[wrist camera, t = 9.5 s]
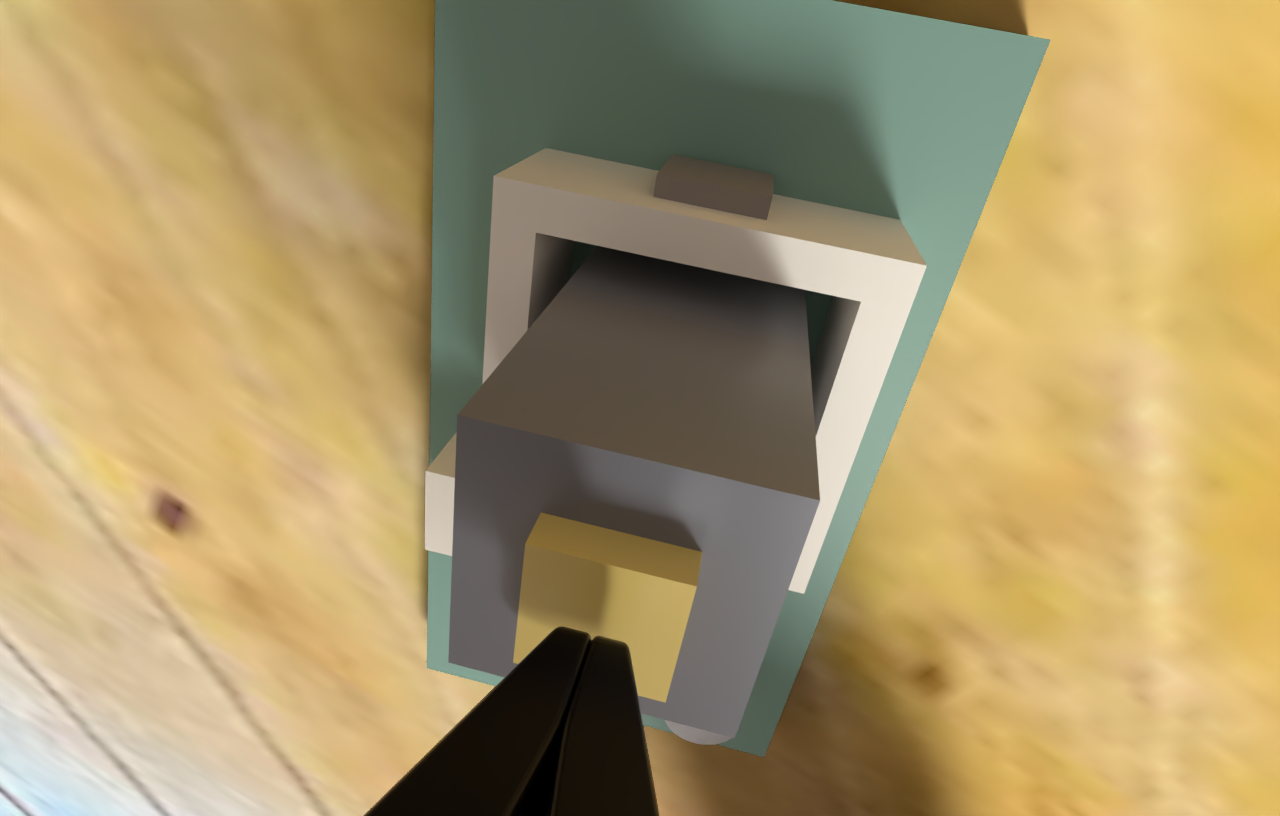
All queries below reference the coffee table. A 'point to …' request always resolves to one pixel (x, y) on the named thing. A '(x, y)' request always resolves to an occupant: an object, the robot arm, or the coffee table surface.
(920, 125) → the board
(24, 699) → the coffee table surface
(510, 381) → the plug
